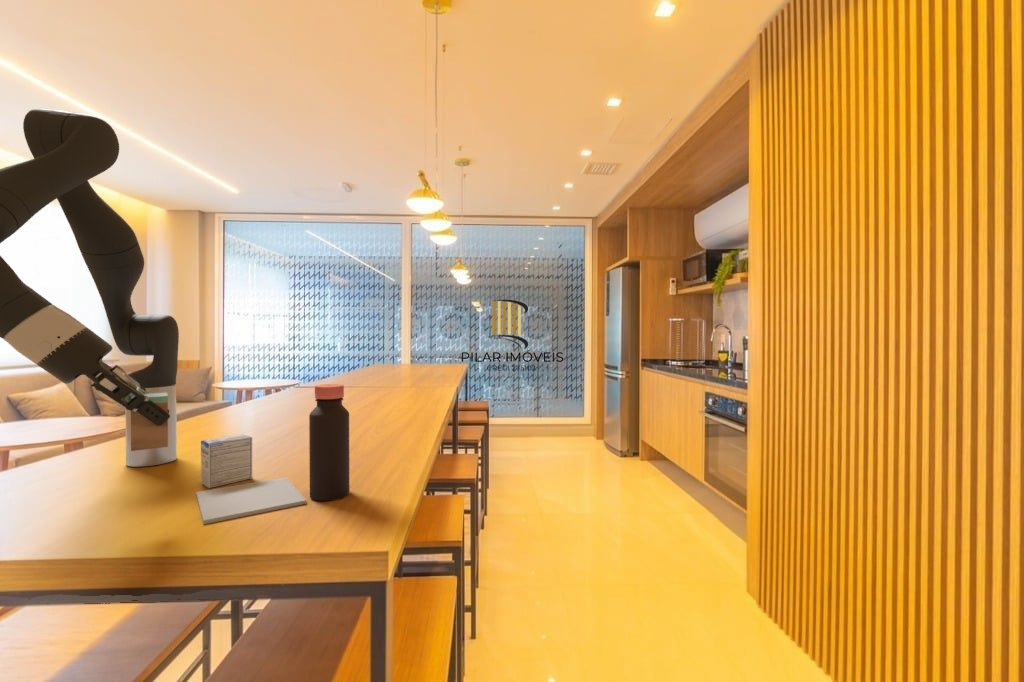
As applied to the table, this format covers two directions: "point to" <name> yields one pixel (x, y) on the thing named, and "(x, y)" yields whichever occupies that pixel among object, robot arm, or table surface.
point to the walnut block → (149, 427)
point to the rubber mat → (247, 499)
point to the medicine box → (226, 460)
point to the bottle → (329, 444)
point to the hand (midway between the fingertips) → (164, 418)
